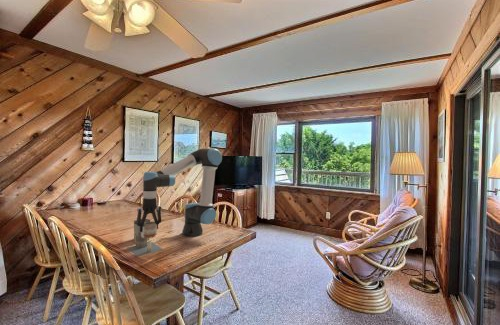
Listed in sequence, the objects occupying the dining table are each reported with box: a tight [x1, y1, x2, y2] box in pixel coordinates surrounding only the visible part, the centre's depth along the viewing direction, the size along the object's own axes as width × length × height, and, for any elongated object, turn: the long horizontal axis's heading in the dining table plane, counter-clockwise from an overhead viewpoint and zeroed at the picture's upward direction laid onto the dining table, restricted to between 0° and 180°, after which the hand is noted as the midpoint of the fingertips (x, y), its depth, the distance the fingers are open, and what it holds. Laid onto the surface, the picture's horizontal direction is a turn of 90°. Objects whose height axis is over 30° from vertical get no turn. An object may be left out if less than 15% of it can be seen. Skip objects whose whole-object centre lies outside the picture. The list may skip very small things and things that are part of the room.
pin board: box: [126, 240, 165, 257], centre depth 158 cm, size 16×18×7 cm
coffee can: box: [133, 218, 151, 243], centre depth 175 cm, size 10×10×14 cm
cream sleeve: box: [143, 220, 156, 239], centre depth 154 cm, size 7×7×8 cm
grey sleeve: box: [134, 232, 148, 248], centre depth 163 cm, size 7×7×8 cm
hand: (148, 235), depth 154 cm, fingers closed on cream sleeve, 7 cm apart
